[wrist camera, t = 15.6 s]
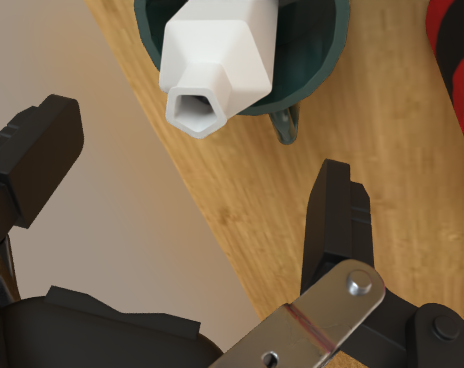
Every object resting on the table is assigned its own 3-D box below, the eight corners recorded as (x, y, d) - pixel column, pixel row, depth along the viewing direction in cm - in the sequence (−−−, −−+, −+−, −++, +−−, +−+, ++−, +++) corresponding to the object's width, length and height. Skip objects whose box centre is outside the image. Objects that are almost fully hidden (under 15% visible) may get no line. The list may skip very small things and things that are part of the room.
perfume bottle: (222, 11, 26) (146, 162, 16) (214, -67, 23) (114, 56, 13) (294, 10, 25) (264, 169, 15) (295, -71, 22) (260, 57, 12)
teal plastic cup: (150, -88, 24) (92, -49, 18) (324, -171, 20) (319, -152, 14) (233, 104, 32) (211, 172, 26) (368, 72, 28) (376, 143, 23)
